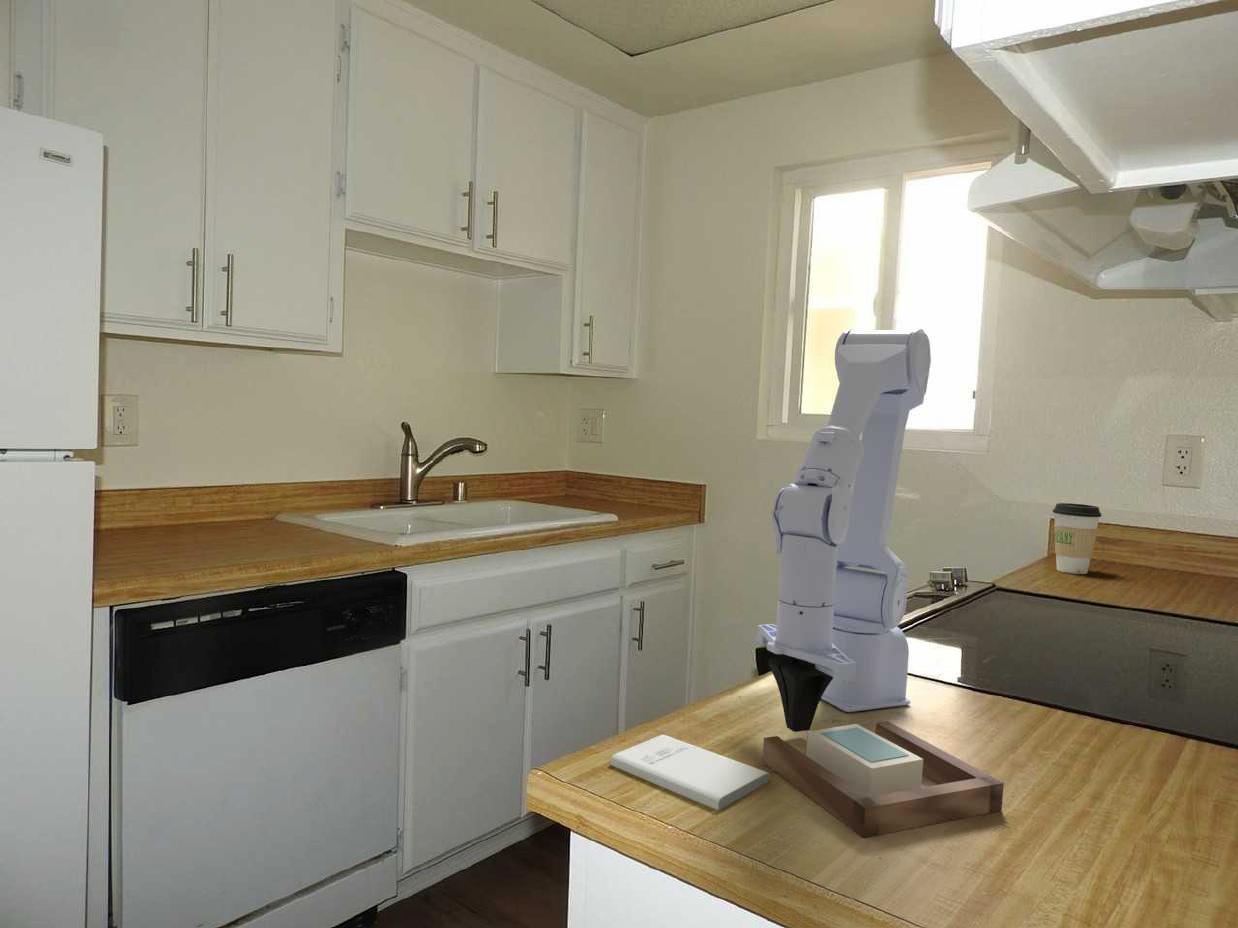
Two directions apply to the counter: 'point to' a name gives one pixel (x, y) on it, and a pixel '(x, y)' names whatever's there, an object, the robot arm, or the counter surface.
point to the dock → (870, 816)
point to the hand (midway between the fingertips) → (798, 728)
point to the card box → (865, 760)
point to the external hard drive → (690, 771)
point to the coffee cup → (1075, 536)
